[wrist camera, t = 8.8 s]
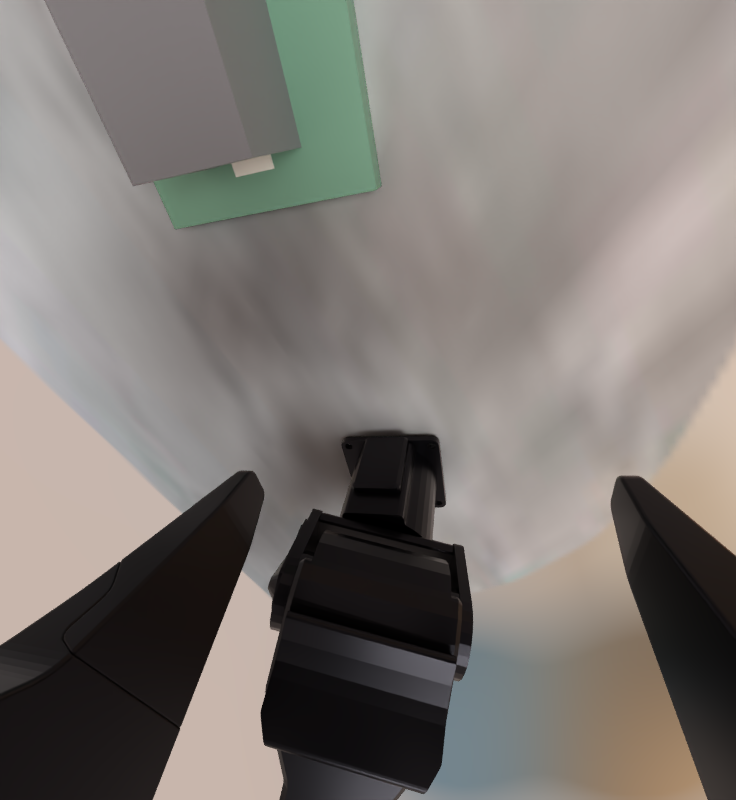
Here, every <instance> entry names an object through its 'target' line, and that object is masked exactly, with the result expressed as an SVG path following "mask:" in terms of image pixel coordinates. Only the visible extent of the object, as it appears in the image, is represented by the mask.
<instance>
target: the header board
mask: <svg viewBox="0 0 736 800" xmlns="http://www.w3.org/2000/svg"><path fill="white" fill-rule="evenodd" d="M266 3H267V7H268V11H269V15H270V20H271V24H272V28H273V32H274V36H275V40H276V44H277V48H278V52H279V57H280V61H281V65H282V69H283V73H284V77H285V81H286V85H287V89H288V93H289V98H290V102H291V106H292V110H293V114H294V118H295V122H296V126H297V130H298V134H299V139H300V143H301V148H297V149H292V150H288V151H284V152H279V153H275V154H270V155H265V156H260V157H256V158H252V159H247V160H243V161H239V162H235V163H231V164H227V165H222V166H220V167H217V168H213V169H208V170H204V171H200V172H195V173H191V174H186V175H182V176H177V177H172V178H168V179H163V180H159V181H154V184H155V186H156V188H157V190H158V193H159V195H160V197H161V199H162V202H163V204H164V206H165V208H166V211H167V213H168V215H169V217H170V219H171V222H172V224H173V226H174V228H175V229H180V228H185V227H190V226H195V225H200V224H205V223H210V222H215V221H221V220H226V219H231V218H236V217H241V216H246V215H251V214H256V213H261V212H267V211H272V210H277V209H282V208H287V207H292V206H297V205H302V204H308V203H313V202H318V201H323V200H328V199H333V198H338V197H343V196H348V195H354V194H359V193H364V192H369V191H374V190H377V189H378V188H379V187H381V179H380V173H379V166H378V160H377V153H376V146H375V140H374V133H373V127H372V120H371V114H370V107H369V100H368V94H367V87H366V81H365V74H364V68H363V61H362V54H361V48H360V41H359V35H358V28H357V22H356V15H355V8H354V2H353V0H266Z"/></svg>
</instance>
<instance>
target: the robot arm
mask: <svg viewBox="0 0 736 800" xmlns="http://www.w3.org/2000/svg"><path fill="white" fill-rule="evenodd" d="M429 443H433V444H434V445H430V444H429ZM348 444H351V445H348ZM342 449H343V452H344V455H345V458H346V462H347V465H348V468H349V471H350V474H351V481H350V485H349V488H348V491H347V494H346V498H345V501H344V504H343V507H342V511H341V514H340V517H338V516H334V515H330V514H326V513H322V512H323V511H321V510H317V509H313V510H312V512H311V514H310V516H309V518H308V520H307V519H306V520H305V521H304V523H303V525H301V527H300V529H299V532H298V535H297V537H296V539H295V541H294V543H293V545H292V547H291V549H290V551H289V553H288V555H287V556H286V558H285V559H284V561H283V562H282V563H281V565H280V566H279V568H278V569H277V570H276V572H275V573H274V575H273V576H272V577H271V580H270V582H269V586H268V590H269V592H270V595H271V597H272V599H273V601H272V612H271V618H270V628H271V629H272V630H276V631H279V632H280V633H279V636H278V641H277V644H276V648H275V652H274V657H273V660H272V664H271V669H270V673H269V676H268V681H267V684H266V691H265V692H266V694H265V698H264V702H263V705H262V708H261V724H262V733H263V742H264V745H265V746H268V747H271V748H274V749H277V751H278V755H279V759H280V765H281V769H282V774H283V779H284V783H283V787H282V791H281V796H280V800H397V799H398V798H399V797H400V796H401V794H402V793H403V792H404V791H405V789H408V790H411V791H415V792H418V793H421V794H424V793H426V792H427V790H428V789H429V787H430V785H431V783H432V782H433V780H434V778H435V776H436V775H437V773H438V771H439V769H440V767H441V763H442V755H443V746H444V736H445V726H446V719H447V714H448V708H449V702H450V696H451V691H452V685H453V680H455V681H460V680H461V679H462V678H463V676H464V674H465V671H466V669H467V665H468V661H469V656H470V651H471V644H472V633H473V610H472V601H471V594H470V587H469V580H468V573H467V567H466V560H465V553H464V547H463V546H461V545H457V544H453V545H450V544H446V543H442V542H438V541H434V540H432V538H433V524H434V511H435V507H444V506H445V505H446V494H445V486H444V477H443V468H442V460H441V451H440V442H439V439H438V438H436V437H434V436H393V437H346V438H345V439H344V440H343V442H342ZM263 500H264V490H263V488H262V486H261V484H260V482H259V480H258V478H257V476H256V474H255V473H254V472H253V471H238V472H237V473H235V474H234V475H233V476H231V477H230V478H229V479H227V480H226V481H225V482H223V483H222V484H221V485H220V486H218V487H217V488H216V489H214V490H213V491H212V492H210V493H209V494H208V495H206V496H205V497H204V498H202V499H201V500H200V501H199V502H197V503H196V504H195V505H193V506H192V507H191V508H189V509H188V510H187V511H185V512H184V513H183V514H182V515H180V516H179V517H178V518H176V519H175V520H174V521H172V522H171V523H170V524H168V525H167V526H166V527H165V528H163V529H162V530H160V531H159V532H158V533H157V534H155V535H154V536H153V537H152V538H150V539H149V540H147V541H146V542H145V543H143V544H142V545H141V546H140V547H138V548H137V549H136V550H134V551H133V552H132V553H130V554H129V555H128V556H126V557H125V558H124V559H122V561H121V562H118V563H117V564H116V565H114V566H113V567H112V568H111V569H109V570H108V571H107V572H105V573H104V574H103V575H102V576H100V577H99V578H97V579H96V580H95V581H93V582H92V583H91V584H89V585H88V586H86V587H85V588H84V589H82V590H81V591H79V592H78V593H77V594H75V595H74V596H72V597H71V598H69V599H68V600H66V601H65V602H64V603H62V604H61V605H59V606H58V607H57V608H55V609H53V610H52V611H50V612H49V613H48V614H46V615H45V616H43V617H42V618H40V619H39V620H37V621H36V622H34V623H33V624H31V625H30V626H28V627H27V628H25V629H24V630H23V631H21V632H20V633H18V634H17V635H15V636H14V637H12V638H11V639H9V640H8V641H6V642H5V643H3V644H2V645H0V800H153V797H154V795H155V792H156V790H157V787H158V784H159V782H160V779H161V777H162V774H163V772H164V769H165V766H166V764H167V761H168V759H169V756H170V754H171V751H172V748H173V746H174V743H175V741H176V738H177V736H178V733H179V731H180V726H181V725H182V722H183V720H184V717H185V714H186V712H187V709H188V706H189V704H190V701H191V699H192V696H193V694H194V691H195V689H196V686H197V684H198V681H199V678H200V676H201V673H202V671H203V668H204V665H205V663H206V660H207V658H208V655H209V653H210V650H211V648H212V645H213V642H214V639H215V637H216V635H217V632H218V630H219V627H220V624H221V622H222V619H223V617H224V614H225V612H226V609H227V606H228V604H229V601H230V599H231V596H232V593H233V591H234V588H235V586H236V583H237V581H238V578H239V575H240V573H241V570H242V568H243V565H244V563H245V560H246V557H247V555H248V552H249V549H250V546H251V543H252V540H253V536H254V532H255V529H256V525H257V522H258V518H259V514H260V511H261V507H262V504H263ZM611 511H612V516H613V520H614V524H615V528H616V533H617V537H618V541H619V545H620V550H621V554H622V558H623V563H624V566H625V571H626V575H627V578H628V581H629V584H630V587H631V590H632V593H633V596H634V599H635V601H636V604H637V607H638V609H639V612H640V615H641V618H642V621H643V623H644V626H645V629H646V631H647V634H648V637H649V640H650V642H651V645H652V648H653V651H654V653H655V656H656V659H657V661H658V664H659V667H660V670H661V672H662V675H663V678H664V681H665V684H666V686H667V689H668V692H669V695H670V697H671V700H672V702H673V706H674V708H675V711H676V714H677V717H678V719H679V722H680V725H681V728H682V730H683V733H684V735H685V738H686V741H687V744H688V747H689V749H690V752H691V755H692V758H693V761H694V763H695V766H696V769H697V772H698V774H699V777H700V780H701V783H702V785H703V788H704V791H705V793H706V796H707V799H708V800H736V555H734V554H733V553H732V552H731V551H730V550H728V549H727V548H726V547H725V546H723V545H722V544H721V543H720V542H719V541H718V540H716V539H715V538H714V537H713V536H712V535H710V534H709V533H708V532H707V531H706V530H704V529H703V528H702V527H701V526H700V525H698V524H697V523H696V522H695V521H693V520H692V519H691V518H690V517H689V516H688V515H686V514H685V513H684V512H683V511H681V510H680V509H679V508H678V507H677V506H676V505H674V504H673V503H672V502H671V501H670V500H668V499H667V498H666V497H665V496H664V495H662V494H661V493H660V492H659V491H658V490H656V489H655V488H654V487H653V486H652V485H651V484H649V483H648V482H647V481H646V480H645V479H643V478H642V477H640V476H619V477H618V478H617V479H616V482H615V486H614V490H613V494H612V498H611Z"/></svg>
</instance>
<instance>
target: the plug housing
mask: <svg viewBox="0 0 736 800" xmlns="http://www.w3.org/2000/svg"><path fill="white" fill-rule="evenodd" d="M44 1H45V3H46V5H47V7H48V9H49V11H50V13H51V15H52V18H53V20H54V22H55V24H56V26H57V28H58V30H59V32H60V34H61V36H62V38H63V41H64V43H65V45H66V47H67V49H68V51H69V53H70V55H71V57H72V59H73V61H74V64H75V66H76V68H77V70H78V72H79V74H80V76H81V78H82V80H83V82H84V84H85V87H86V89H87V91H88V93H89V95H90V97H91V99H92V101H93V103H94V105H95V107H96V110H97V112H98V114H99V116H100V118H101V120H102V122H103V124H104V126H105V128H106V130H107V133H108V135H109V137H110V139H111V141H112V143H113V145H114V147H115V149H116V151H117V153H118V156H119V158H120V160H121V162H122V164H123V166H124V168H125V170H126V172H127V174H128V176H129V179H130V181H131V183H132V185H133V186H136V185H140V184H145V183H150V182H154V181H159V180H163V179H168V178H172V177H177V176H182V175H186V174H191V173H195V172H200V171H204V170H208V169H213V168H217V167H220V166H222V165H227V164H231V163H235V162H239V161H243V160H247V159H252V158H256V157H260V156H265V155H270V154H275V153H279V152H284V151H288V150H292V149H297V148H301V143H300V139H299V134H298V130H297V126H296V122H295V118H294V114H293V110H292V106H291V102H290V98H289V93H288V89H287V85H286V81H285V77H284V73H283V69H282V65H281V61H280V57H279V52H278V48H277V44H276V40H275V36H274V32H273V28H272V24H271V20H270V15H269V11H268V7H267V3H266V0H44Z"/></svg>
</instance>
